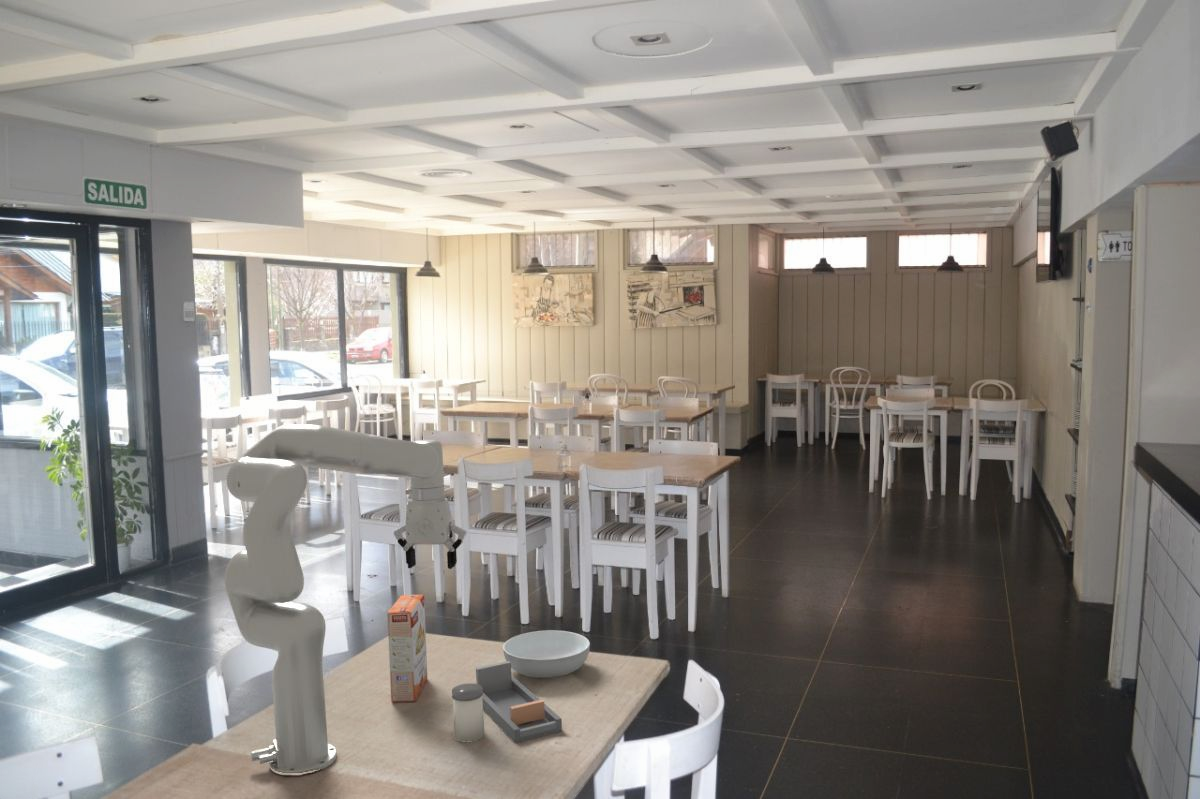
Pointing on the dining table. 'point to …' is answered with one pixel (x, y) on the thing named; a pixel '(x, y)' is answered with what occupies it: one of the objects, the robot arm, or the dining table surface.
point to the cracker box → (407, 648)
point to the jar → (468, 712)
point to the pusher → (527, 712)
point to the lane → (512, 703)
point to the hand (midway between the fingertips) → (431, 567)
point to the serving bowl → (546, 653)
